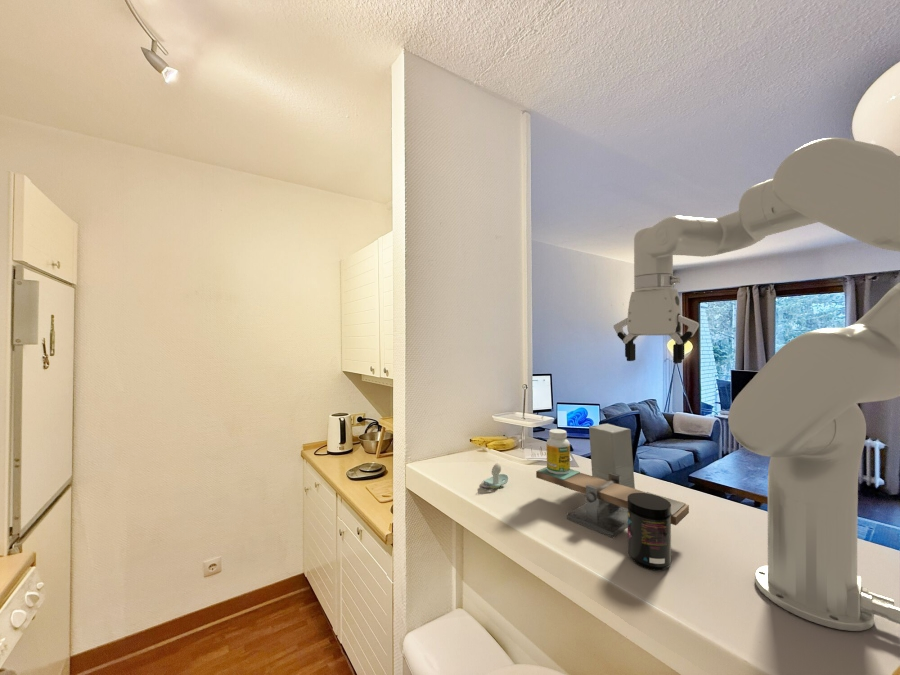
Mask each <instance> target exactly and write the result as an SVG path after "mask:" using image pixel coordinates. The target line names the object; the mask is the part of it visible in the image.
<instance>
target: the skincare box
mask: <svg viewBox="0 0 900 675" xmlns="http://www.w3.org/2000/svg"><path fill="white" fill-rule="evenodd" d="M588 429H589V430H588V432H589V434H588V435H589V444H590V446H589V448H590V459H591V460H590V463H591V476H593V477H597V478H600V479H603V480H607V481H609V473H613V474H617V475H620V476H621V485H623V486H627V487H630V488H633V489H636V487H635V474H634V472H635V470H634V458H633V445H632V432H631V431H632V430H631V429H630V428H626V427H621V426H617V425H615V424H611V423H602V424H596V425H591V426H589V427H588Z"/></svg>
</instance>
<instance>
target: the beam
mask: <svg viewBox="0 0 900 675" xmlns="http://www.w3.org/2000/svg"><path fill="white" fill-rule="evenodd" d="M535 472H536V474H535V477H536V479H539V480H543V481H546V482H547V483H551V484H554V485H557V486H559V487H563V488H566V489H567V490H568V489H569V490H572V491H575V492H578V493H581V494H583V495H586V485H591V486H594V487H597V488H599V499H600V500H603V501H606V502H609V503H612V504H615V505H618V506H621V507H623V508H626V509H628V507H627V505H628V495H630V494H632V493H648V494H653V495H657V496H660V497H662V498H664V499H666V500H668V501H669V502H670V504H671V525H673V526H677V525H678V524H679V523H680V522H682V520H683V519H684V518H686V516H688V514H689V513H690V505H689V504H687V503H685V502H682V501H679V500H676V499H673V498H669V497H666V496H662V495H660V494H656V493H652V492H649V491H643V490H640V489H636V488H635V489H633V488H630V487H627V486H623V485H620V484H617V482H616V481H615V480H610V481H607V480H603V479H600V478H597V477H593V476H592V475H590V474H588V473H587V474H586V473H583V472H580V471H579V470H576V469H572V468H570V472H569V473H568V474H563V475H558V474H553V473H550V472H549V471H548V470H547V466H545V467H543V468H540V469H538V470H536V471H535Z"/></svg>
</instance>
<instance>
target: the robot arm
mask: <svg viewBox="0 0 900 675" xmlns="http://www.w3.org/2000/svg"><path fill="white" fill-rule="evenodd" d="M817 223H820V224H822V225H825V226H826V227H829V228H831V229H832V230H836V231H837V232H840V233H842V234H844V235H846V236H848V237H850V238H853V239H855V240H857V241H859V242H862V243H864V244H865V245H866V244H867V245H869V246H873V247H875V248H879V249H882V250H886V251H891V252H892V251H894V252H900V155H897V154H896V153H895V152H894V151H892V150H890V149H889V148H886V147H884V146H881V145H878V144H874V143H868V142H864V141H860V140H855V139H850V138H845V137H827V138H821V139H820V138H819V139H817V140H813V141H810V142H809V143H806V144H804V145H802V146H800V147H799V148H797V149H795V150H793V151H792V152H791V153H790V154H789V155H788V156H786V158H785V159H784V160H783V161H782V162H781V163H780V165H779V166H778V167H777V168H776V171H775V173H774V174H773V178H770V179H767V180H765V181H762V182H760V183H756V184H754V185H752V186H751V187H749V188H747V190H745V191H744V193H743V194H742V196H741V198H740V199H739V203H738V211H734V212H732V213H729V214H726V215H724V216H723V215H722V216H720V217H716V218H705V217H695V216H683V215H672V216H668V217H666V218H663V219H662V220H661V221H659V222H658V223H656V224H654V225H652V226H649V227H645V228H642V229H640V230H638V231H637V232H636V233H635V235H634V238H633V268H634V269H633V270H634V271H633V274H634V275H633V278H634V279H633V280H634V281H633V284H634V285H633V291H631V292H630V298H629V302H628V308H627V317H626V318H624V319H623V320H621V321H619V322H617V323H615V324H614V325H613V329H614V331H615V333H616V335H617V337H618V338H619V339H620V340H621V341H622V343H623V344H624V356H625V358H626V361H627V362H635V361H636V344H635V343H634V341H635V340H637V338H638V336H669V337H670V338H671V339H672V340H673V341H674V342H675V343H674V344H673V346H672V360H673V361H672V362H673V364H682V362H683V360H684V359H685V345H686V344H687V343H688V342H689V341H690V340H691V339H692V338H693V337H694V336H695V334H696V332H697V330H698V329H699V327H700V323H699V322H697V321H695V320H693V319H691V318H688V317H685V316H682V308H681V307H682V306H681V301H680V300H681V299H680V296H679V291H678V289H676V288H674V287H675V285H677V284H680V283H681V277H680V276H675V275H674V269H673V268H674V262H673V261H674V259H673V258H674V256H688V257H689V256H691V257H702V258H704V257H712V256H718V255H722V254H726V253H730V252H735V251H739V250H742V249H745V248H748V247H751V246H753V245H755V244H757V243H758V242H761V241H762V240H764V239H765V238H766V237H768V236H771V235H774V234H775V235H776V234H779V233H783V232H786V231H791V230H793V229H798V228H801V227H806V226H808V225H813V224H817ZM683 325H685V326H687V327H688V328H687V330H686V332H684V334H681V333H682V331H683ZM625 327H627V333H626V332H624V328H625ZM899 397H900V282H897V284H895V285H894V286H893V287H892V288H890V289H889V290H888V291H887V292H886V293H885V294H884V295H883V296H882V298H880V300H878V302H877V303H876V304H875V305H873V306H872V307H871V308H870V309H869V310H868V311H867V312H866V313H865V314H864V315H862V317H860V318H859V319H858V320H857V321H855V322H854V323H852V324H851V325H848V326H846V327H826V328H825V327H824V328H818V329H814V330H811V331H806V332H804V333H802V334H800V335H798V336H796V337H795V338H793V339H791V340H790V341H788V342H786V343H785V344H784V345H782V346H781V347H780V348H779V349H778V350H777V351H776V352H775V354H773V356H771V358H770V359H768V361H767V362H766V363H765V364H764V365H763V367H761V369H759V371H757V373H756V374H755V375H754V376H753V378H752V379H750V380H749V382H748V383H747V384H746V385H745V386H744V387H743V388H742V389H741V391H740V392H738V394H737V395H736V396H735V398H734V400H733V401H732V403H731V405H730V408H729V411H728V418H727V419H728V420H727V421H728V428H729V430H730V434H732V436H733V437H734V440H735V441H736V442H737V443H739V445H741V447H744V449H746V450H747V451H750V452H752V453H754V454H756V455H759V456H763V457H768V458H770V459H769V463H768V467H767V468H768V469H767V565H763V566H760V567H758V568H757V569H756V570H755V572H754V582H755V584H756V586H757V588H758V590H759V591H760V592H761V593H762V594H763V595H764V596H765V597H766V598H768V599H769V600H770V601H772V603H774V604H776V605H777V606H779V607H781V608H782V609H784V610H785V611H787V612H789V613H791V614H793V615H795V616H798V617H800V618H801V619H803V620H805V621H806V620H807V621H809V622H812V623H814V624H816V625H817V624H818V625H821V626H824V627H827V628H831V629H834V630H835V629H837V630H841V631H849V632H862V631H866V630H869V629H870V628H872V627H873V626H874V623H875V615H876V616H879V617H880V618H884V619H886V620H888V621H890V622H892V623H895V624H898V625H900V607H898V606H895V599H894V598H891V597H888V596H884V595H882V594H878V593H874V592H872V591H869V590H868V588H866V587H863V586H862V577H861V575H858V503H859V499H858V498H859V492H858V491H859V473H860V465H861V461H862V455H863V451H864V447H865V442H866V436H867V422H866V418H865V415H864V413H863V411H862V409H861V408H860V406H859V405H858V404H862V403H874V402H881V401H888V400H891V399H896V398H899Z"/></svg>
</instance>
